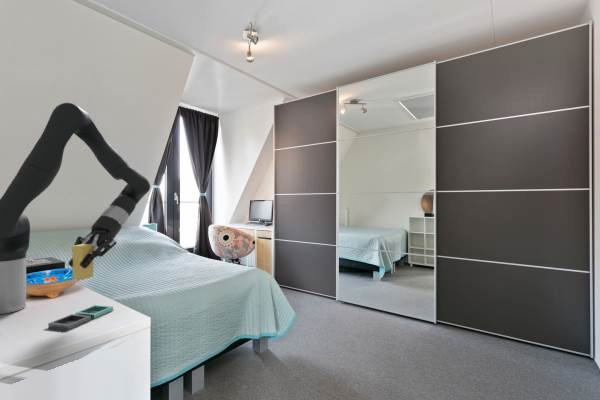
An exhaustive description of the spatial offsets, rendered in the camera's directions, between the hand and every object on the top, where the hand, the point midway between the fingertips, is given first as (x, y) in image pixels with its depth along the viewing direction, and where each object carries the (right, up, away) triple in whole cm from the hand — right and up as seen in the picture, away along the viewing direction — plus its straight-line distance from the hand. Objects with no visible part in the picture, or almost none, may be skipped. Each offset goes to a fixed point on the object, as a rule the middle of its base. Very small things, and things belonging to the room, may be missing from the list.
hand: (77, 266), depth 89 cm
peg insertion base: (0, -18, +2) cm, 18 cm away
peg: (0, -4, +2) cm, 4 cm away
